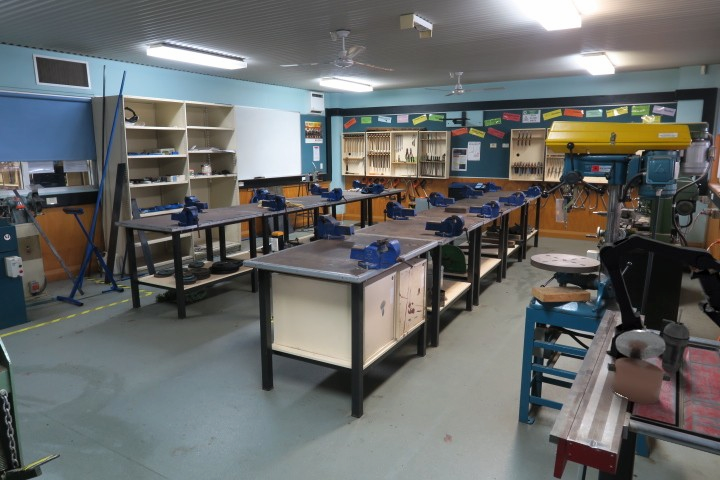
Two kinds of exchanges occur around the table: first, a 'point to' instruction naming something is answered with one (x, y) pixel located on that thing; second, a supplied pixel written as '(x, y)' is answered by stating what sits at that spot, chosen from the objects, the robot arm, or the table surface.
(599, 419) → the table surface
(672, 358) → the beverage cup
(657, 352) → the cooker lid
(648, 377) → the cooker pot
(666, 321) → the phone stand
